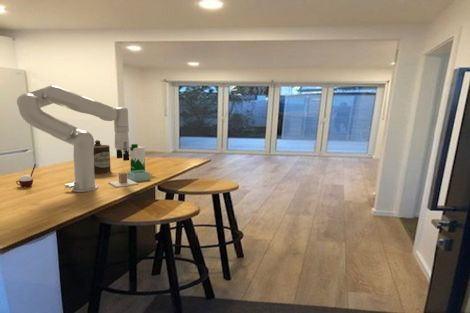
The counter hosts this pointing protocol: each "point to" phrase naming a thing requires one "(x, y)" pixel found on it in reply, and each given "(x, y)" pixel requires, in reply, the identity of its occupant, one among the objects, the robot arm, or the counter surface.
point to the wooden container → (101, 158)
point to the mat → (123, 186)
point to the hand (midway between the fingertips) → (122, 159)
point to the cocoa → (26, 179)
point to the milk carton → (137, 157)
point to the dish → (138, 175)
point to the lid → (123, 181)
